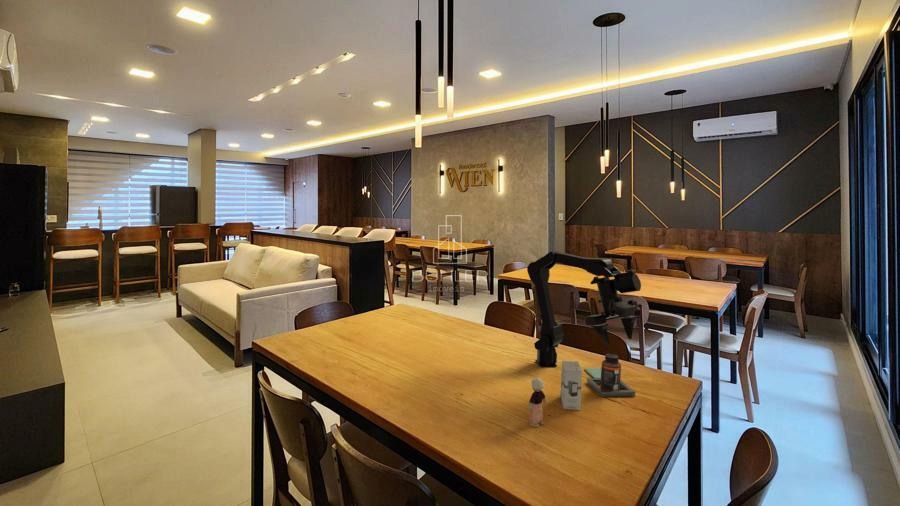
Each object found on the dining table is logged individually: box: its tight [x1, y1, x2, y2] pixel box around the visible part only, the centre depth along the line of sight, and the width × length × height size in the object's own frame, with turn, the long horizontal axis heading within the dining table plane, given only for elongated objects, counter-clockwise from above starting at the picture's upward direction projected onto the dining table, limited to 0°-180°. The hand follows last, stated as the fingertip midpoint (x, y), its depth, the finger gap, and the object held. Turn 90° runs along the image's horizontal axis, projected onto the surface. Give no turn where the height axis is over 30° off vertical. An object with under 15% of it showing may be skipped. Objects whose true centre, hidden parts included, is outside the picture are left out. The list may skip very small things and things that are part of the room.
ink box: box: [559, 360, 583, 411], centre depth 123 cm, size 9×5×12 cm, turn 172°
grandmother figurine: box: [527, 377, 547, 428], centre depth 110 cm, size 8×4×13 cm, turn 145°
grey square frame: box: [586, 377, 636, 398], centre depth 134 cm, size 11×11×2 cm
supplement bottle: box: [599, 353, 622, 390], centre depth 134 cm, size 6×6×11 cm
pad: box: [584, 367, 601, 378], centre depth 147 cm, size 9×9×1 cm
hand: (619, 341), depth 136 cm, fingers open, 9 cm apart
